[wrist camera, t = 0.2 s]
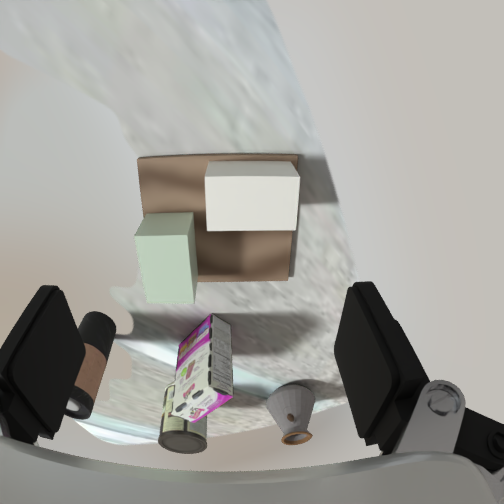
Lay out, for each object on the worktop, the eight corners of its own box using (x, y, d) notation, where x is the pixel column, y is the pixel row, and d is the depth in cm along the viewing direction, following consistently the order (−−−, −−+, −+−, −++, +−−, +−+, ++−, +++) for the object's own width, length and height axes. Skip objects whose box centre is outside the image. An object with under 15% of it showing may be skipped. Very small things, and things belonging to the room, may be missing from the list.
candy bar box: (199, 355, 63) (194, 424, 49) (178, 344, 61) (168, 414, 47) (233, 324, 59) (235, 398, 45) (211, 311, 57) (207, 386, 43)
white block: (210, 208, 46) (207, 231, 40) (208, 161, 42) (204, 176, 36) (287, 208, 47) (295, 230, 41) (290, 161, 43) (300, 176, 37)
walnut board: (138, 157, 42) (137, 159, 41) (296, 154, 44) (297, 156, 43) (155, 278, 53) (154, 282, 52) (287, 277, 54) (287, 280, 53)
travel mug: (121, 319, 57) (93, 406, 40) (114, 343, 61) (89, 425, 43) (85, 304, 55) (47, 387, 38) (80, 329, 58) (48, 408, 41)
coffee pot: (314, 400, 74) (325, 451, 61) (269, 408, 75) (274, 460, 62) (307, 347, 63) (322, 408, 50) (252, 357, 64) (256, 420, 51)
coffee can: (190, 409, 74) (187, 457, 62) (156, 391, 70) (148, 442, 57) (217, 394, 70) (217, 446, 58) (182, 375, 66) (177, 429, 54)
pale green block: (146, 213, 46) (134, 236, 40) (193, 212, 46) (187, 235, 40) (155, 275, 51) (147, 303, 45) (198, 275, 52) (194, 303, 46)
